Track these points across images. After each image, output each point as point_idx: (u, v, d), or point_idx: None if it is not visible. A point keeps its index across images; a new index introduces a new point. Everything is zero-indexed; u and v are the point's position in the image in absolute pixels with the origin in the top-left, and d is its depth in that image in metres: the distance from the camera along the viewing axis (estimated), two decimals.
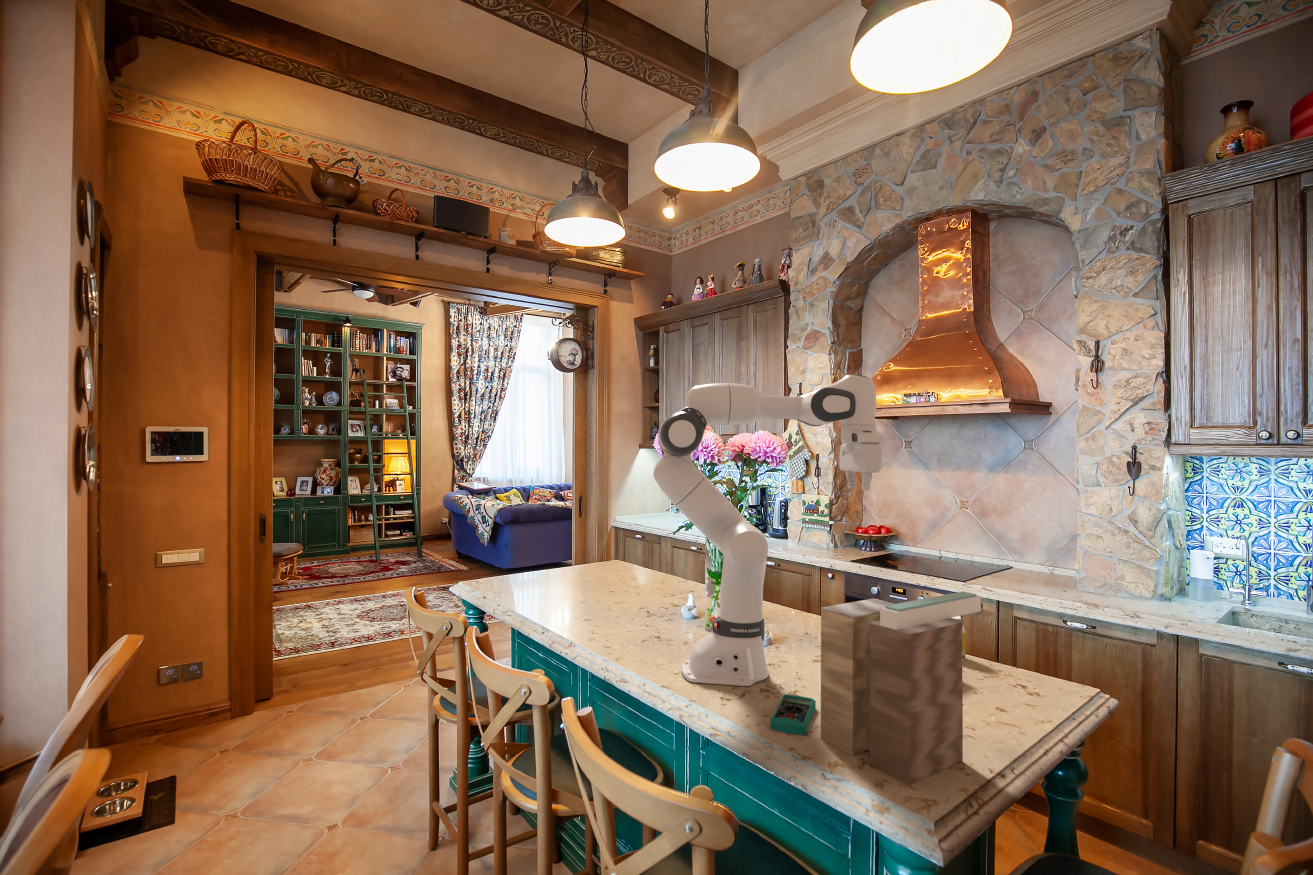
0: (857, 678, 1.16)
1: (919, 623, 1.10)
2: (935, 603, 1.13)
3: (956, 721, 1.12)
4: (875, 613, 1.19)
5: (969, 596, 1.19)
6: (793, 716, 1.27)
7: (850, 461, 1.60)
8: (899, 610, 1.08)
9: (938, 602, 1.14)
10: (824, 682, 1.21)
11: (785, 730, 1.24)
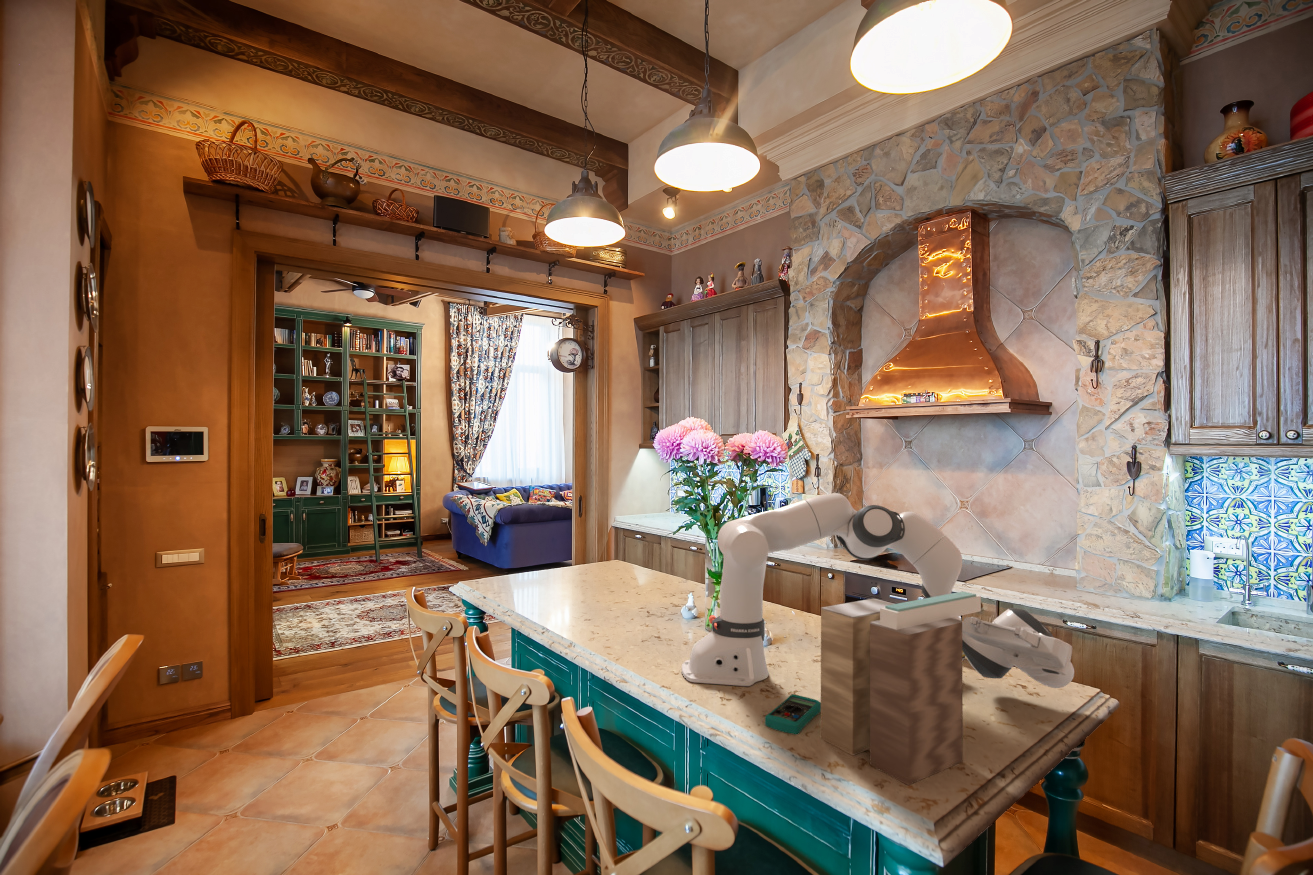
0: (857, 678, 1.16)
1: (919, 623, 1.10)
2: (935, 603, 1.13)
3: (956, 721, 1.12)
4: (875, 613, 1.19)
5: (969, 596, 1.19)
6: (789, 715, 1.27)
7: None
8: (899, 610, 1.08)
9: (938, 602, 1.14)
10: (824, 682, 1.21)
11: (777, 728, 1.25)
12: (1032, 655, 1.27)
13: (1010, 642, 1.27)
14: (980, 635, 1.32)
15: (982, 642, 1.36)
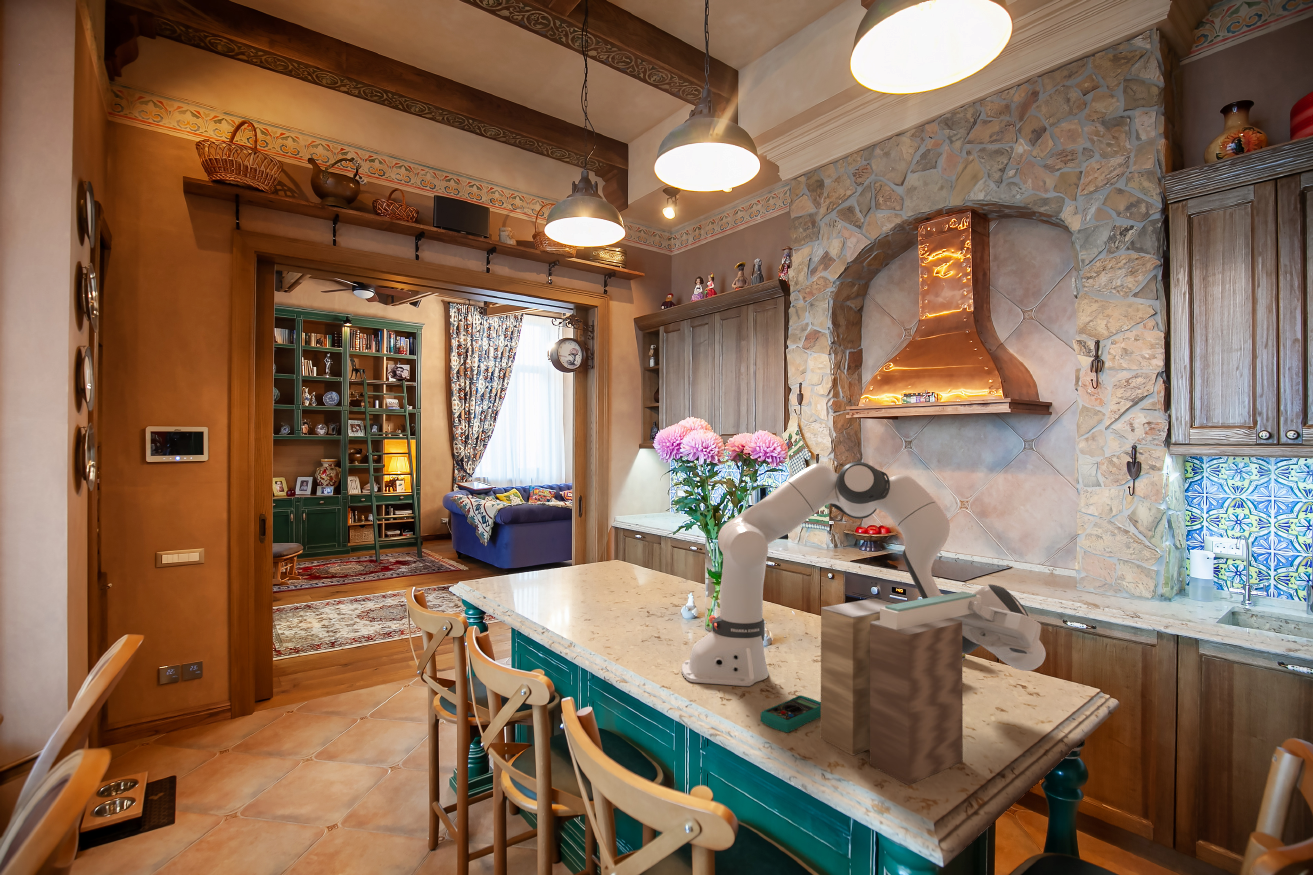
0: (857, 678, 1.16)
1: (919, 623, 1.10)
2: (935, 603, 1.13)
3: (956, 721, 1.12)
4: (875, 613, 1.19)
5: (969, 596, 1.19)
6: (784, 713, 1.28)
7: None
8: (899, 610, 1.08)
9: (938, 602, 1.14)
10: (824, 682, 1.21)
11: (770, 724, 1.26)
12: (999, 634, 1.21)
13: (976, 619, 1.20)
14: None
15: None
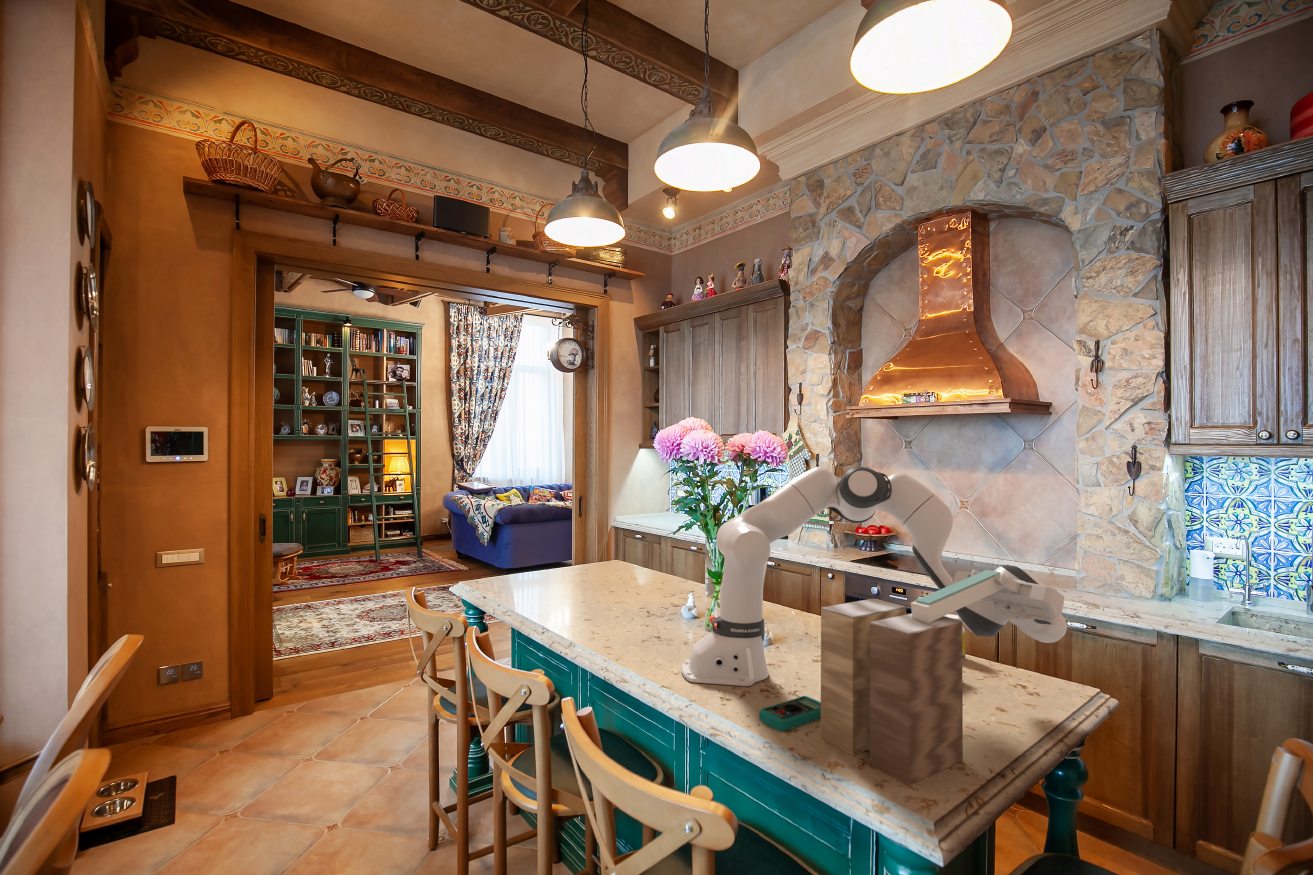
0: (857, 678, 1.16)
1: (949, 612, 1.15)
2: (962, 589, 1.18)
3: (956, 721, 1.12)
4: (875, 613, 1.19)
5: (994, 575, 1.23)
6: (783, 713, 1.28)
7: None
8: (929, 604, 1.12)
9: (965, 588, 1.18)
10: (824, 682, 1.21)
11: (767, 723, 1.27)
12: (1024, 606, 1.26)
13: (1001, 592, 1.25)
14: None
15: None
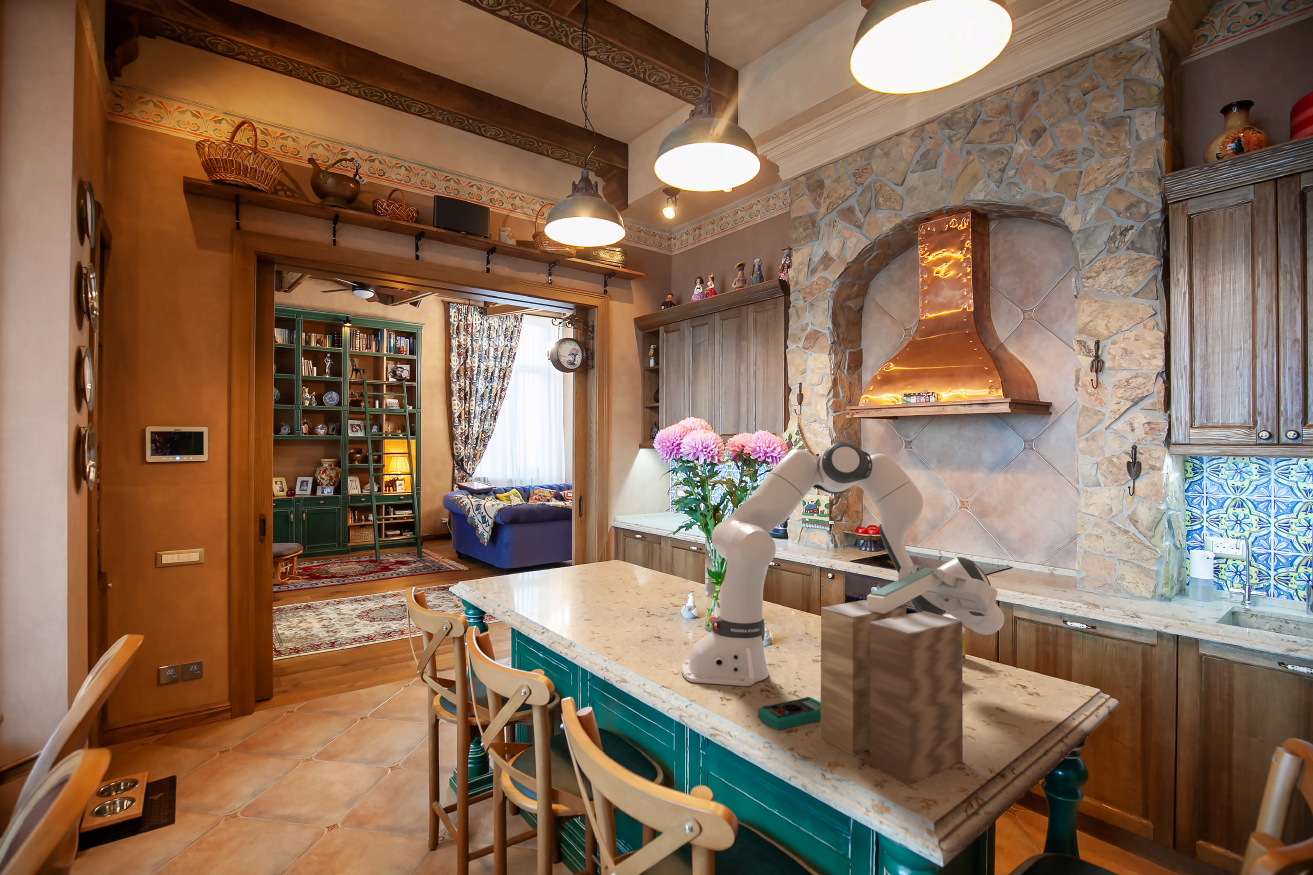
0: (857, 678, 1.16)
1: (900, 604, 1.22)
2: (909, 583, 1.25)
3: (956, 721, 1.12)
4: (875, 613, 1.19)
5: (932, 571, 1.33)
6: (781, 712, 1.29)
7: None
8: (884, 595, 1.18)
9: (911, 582, 1.26)
10: (824, 682, 1.21)
11: (764, 720, 1.28)
12: (960, 599, 1.35)
13: (939, 586, 1.34)
14: None
15: None
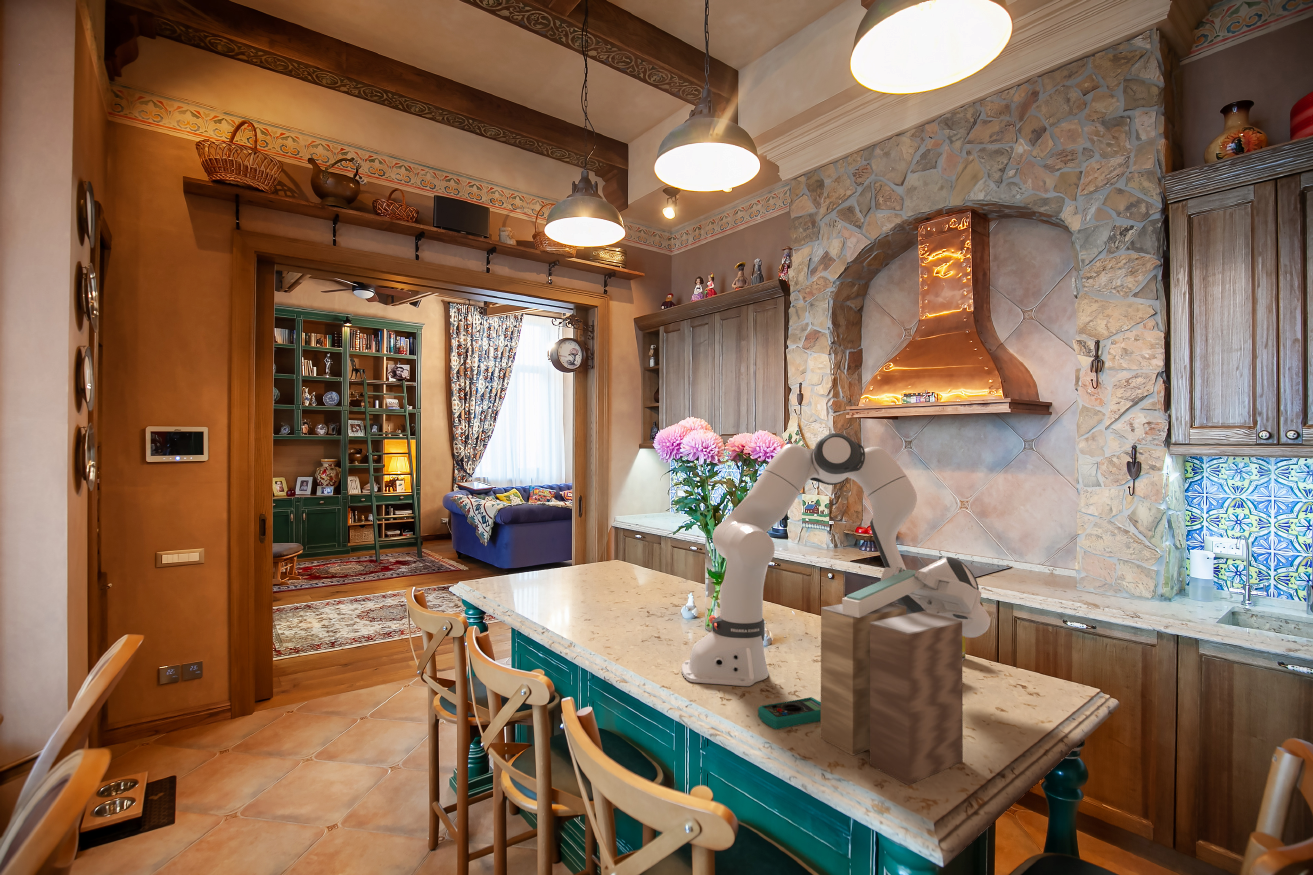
0: (857, 678, 1.16)
1: (877, 607, 1.19)
2: (888, 586, 1.22)
3: (956, 721, 1.12)
4: (875, 613, 1.19)
5: None
6: (780, 711, 1.29)
7: None
8: (860, 599, 1.16)
9: (890, 585, 1.23)
10: (824, 682, 1.21)
11: (763, 719, 1.28)
12: (943, 601, 1.31)
13: (922, 588, 1.31)
14: None
15: None
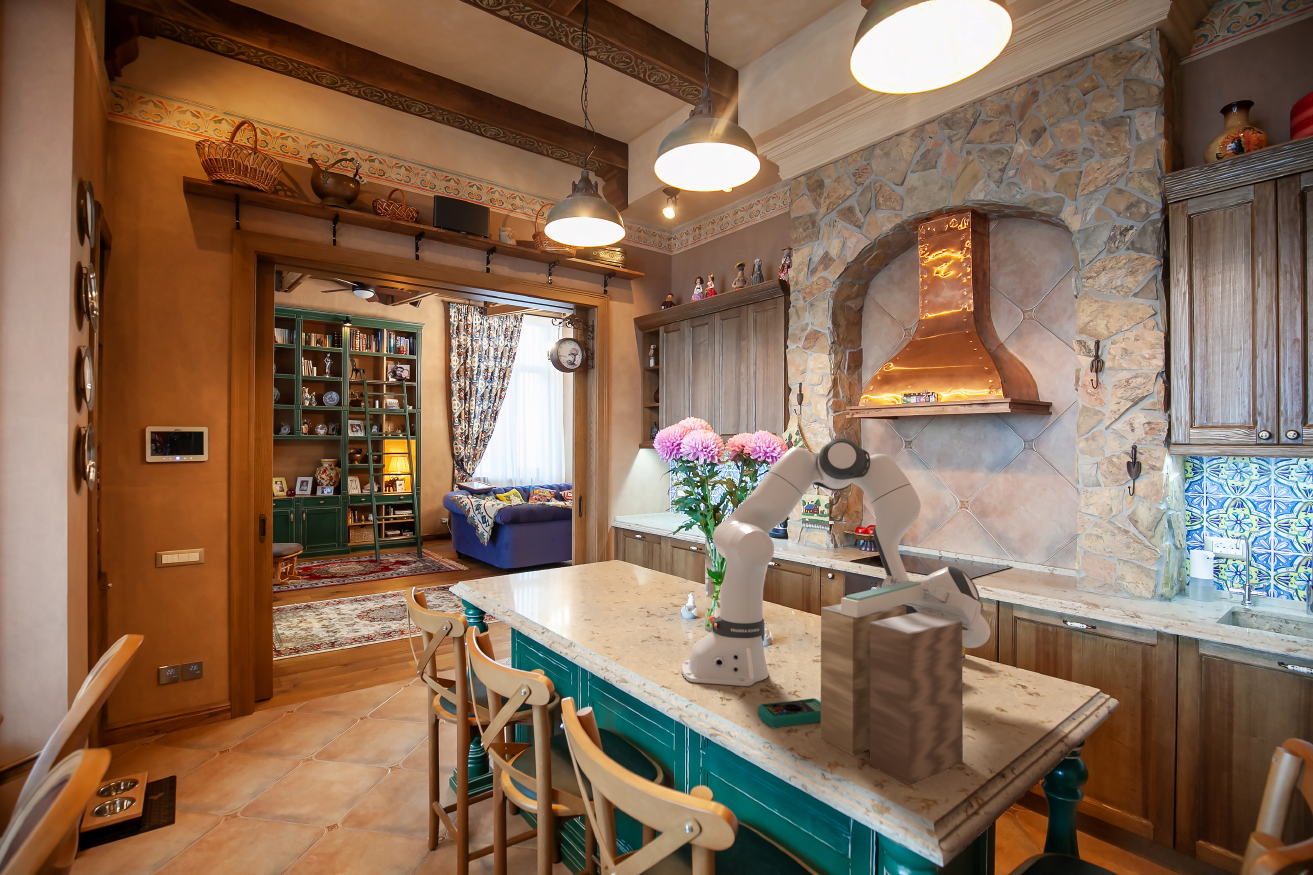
0: (857, 678, 1.16)
1: (875, 611, 1.19)
2: (888, 592, 1.22)
3: (956, 721, 1.12)
4: (875, 613, 1.19)
5: (915, 584, 1.29)
6: (779, 710, 1.29)
7: None
8: (859, 599, 1.16)
9: (890, 591, 1.23)
10: (824, 682, 1.21)
11: (761, 718, 1.29)
12: (944, 612, 1.31)
13: (922, 599, 1.31)
14: None
15: None
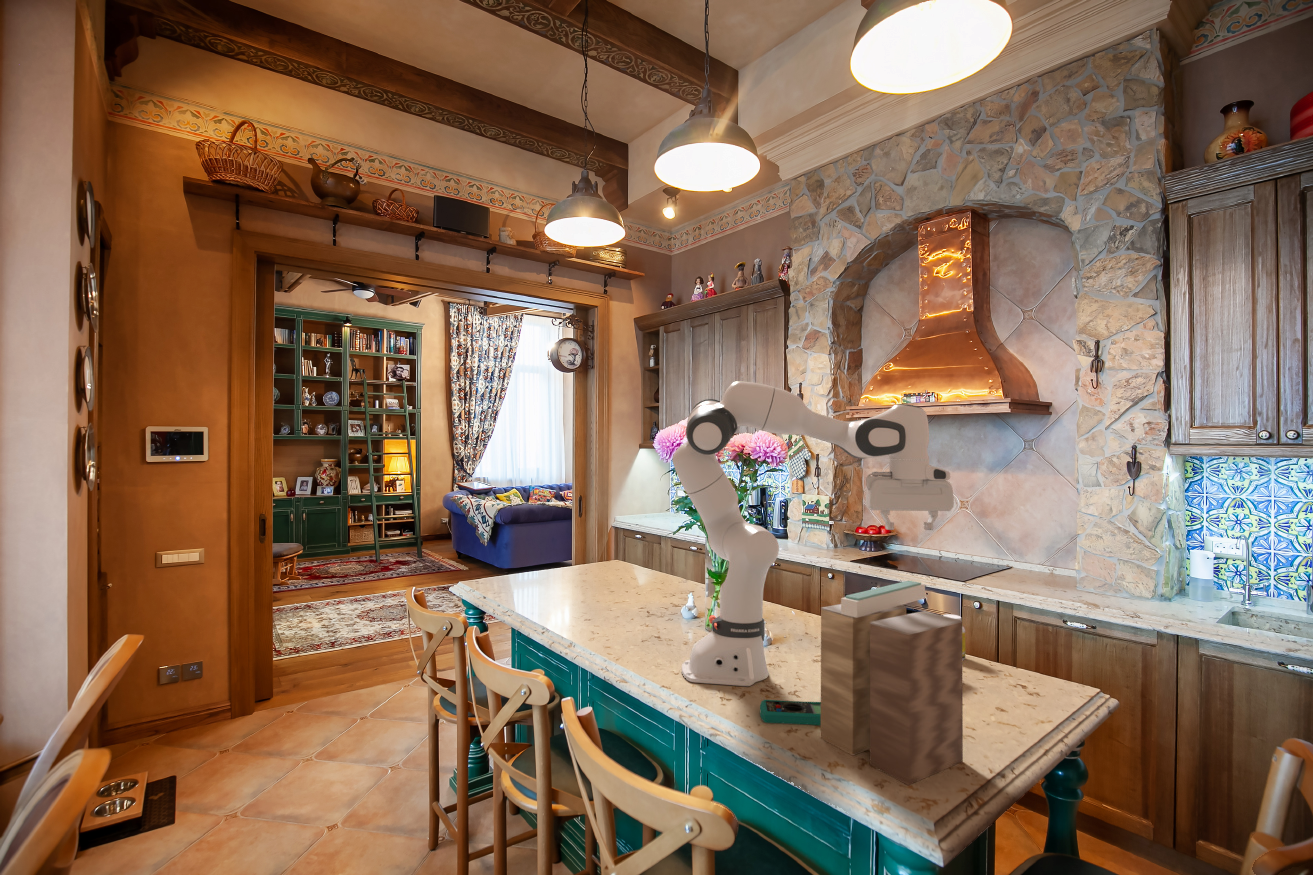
0: (857, 678, 1.16)
1: (875, 611, 1.19)
2: (888, 592, 1.22)
3: (956, 721, 1.12)
4: (875, 613, 1.19)
5: (915, 584, 1.29)
6: (777, 707, 1.31)
7: (909, 500, 1.44)
8: (859, 599, 1.16)
9: (890, 591, 1.23)
10: (824, 682, 1.21)
11: None
12: None
13: None
14: None
15: None
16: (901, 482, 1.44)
